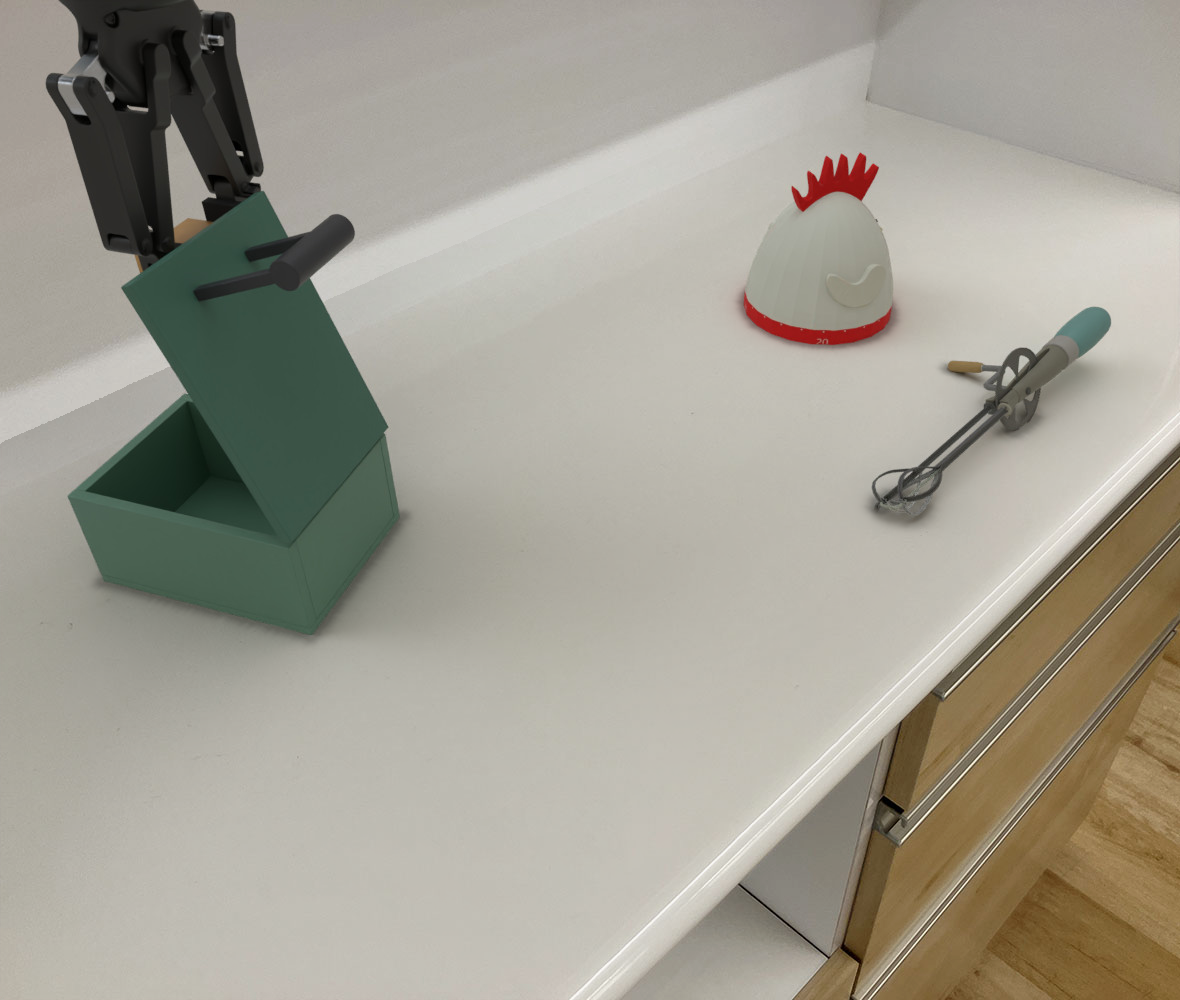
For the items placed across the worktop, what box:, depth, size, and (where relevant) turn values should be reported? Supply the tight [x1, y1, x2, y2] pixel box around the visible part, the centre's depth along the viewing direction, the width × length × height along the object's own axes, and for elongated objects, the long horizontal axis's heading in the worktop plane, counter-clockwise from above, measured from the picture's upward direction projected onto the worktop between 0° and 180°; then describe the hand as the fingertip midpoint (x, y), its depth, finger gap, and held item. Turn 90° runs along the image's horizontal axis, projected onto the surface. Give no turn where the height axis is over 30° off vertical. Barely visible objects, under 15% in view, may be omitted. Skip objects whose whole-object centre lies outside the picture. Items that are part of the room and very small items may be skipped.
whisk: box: [871, 306, 1112, 516], centre depth 85 cm, size 11×32×7 cm, turn 132°
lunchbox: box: [67, 393, 401, 636], centre depth 73 cm, size 17×13×8 cm
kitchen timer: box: [743, 152, 894, 346], centre depth 96 cm, size 14×14×15 cm
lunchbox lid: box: [120, 190, 389, 543], centre depth 62 cm, size 17×13×8 cm
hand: (219, 315), depth 68 cm, fingers closed on block, 5 cm apart
